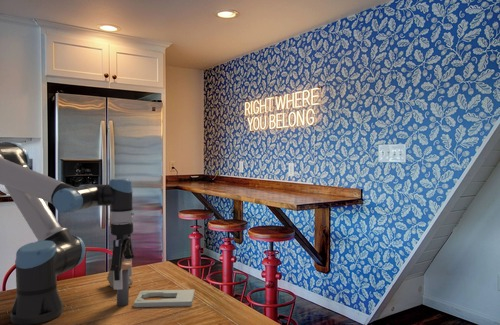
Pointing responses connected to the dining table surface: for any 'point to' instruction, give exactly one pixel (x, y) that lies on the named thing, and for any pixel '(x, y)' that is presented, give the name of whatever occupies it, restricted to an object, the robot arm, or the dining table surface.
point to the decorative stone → (110, 279)
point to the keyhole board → (181, 299)
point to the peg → (124, 285)
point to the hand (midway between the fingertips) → (123, 282)
